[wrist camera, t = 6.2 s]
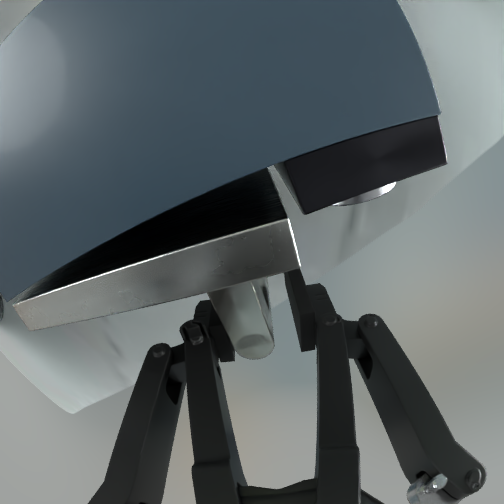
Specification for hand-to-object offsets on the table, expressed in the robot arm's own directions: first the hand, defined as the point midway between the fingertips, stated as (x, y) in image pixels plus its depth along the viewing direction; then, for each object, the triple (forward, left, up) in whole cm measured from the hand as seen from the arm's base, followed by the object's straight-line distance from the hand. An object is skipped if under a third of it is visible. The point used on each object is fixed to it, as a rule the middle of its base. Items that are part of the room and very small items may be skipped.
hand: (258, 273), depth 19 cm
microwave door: (-3, +3, -4) cm, 6 cm away
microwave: (0, +11, -4) cm, 12 cm away
